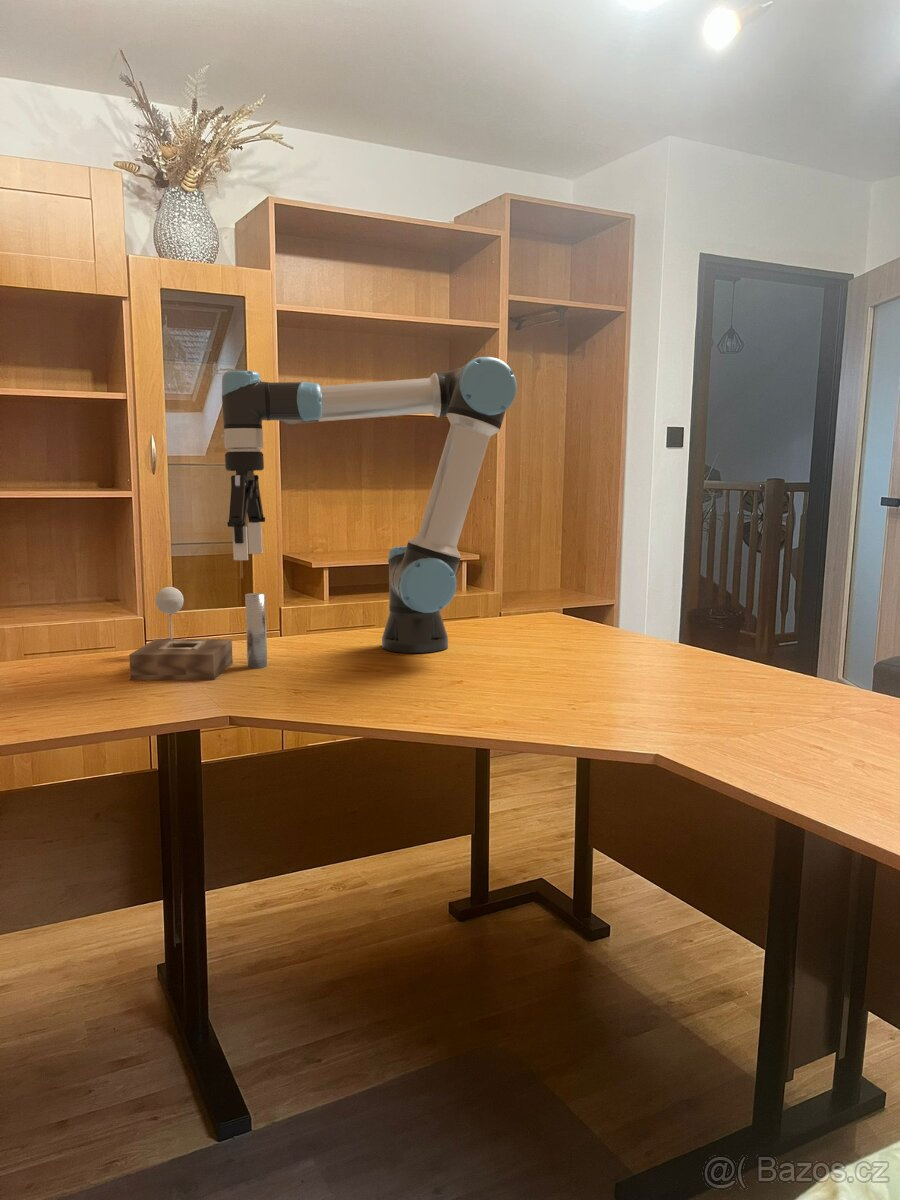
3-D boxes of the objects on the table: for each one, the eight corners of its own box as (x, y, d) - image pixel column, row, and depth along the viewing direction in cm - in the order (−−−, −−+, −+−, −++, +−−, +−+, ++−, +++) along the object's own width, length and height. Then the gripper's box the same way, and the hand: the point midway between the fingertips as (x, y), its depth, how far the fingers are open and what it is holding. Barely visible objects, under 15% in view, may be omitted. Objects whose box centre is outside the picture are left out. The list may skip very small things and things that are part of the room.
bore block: (232, 662, 189) (231, 637, 188) (214, 679, 173) (213, 652, 173) (156, 662, 189) (155, 637, 188) (130, 680, 173) (129, 653, 172)
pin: (269, 664, 187) (266, 593, 185) (265, 668, 183) (263, 595, 181) (249, 664, 187) (247, 593, 185) (245, 668, 183) (243, 595, 181)
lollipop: (180, 657, 194) (177, 588, 192) (153, 657, 194) (150, 588, 192) (189, 652, 200) (186, 585, 198) (163, 652, 200) (160, 585, 198)
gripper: (239, 452, 192) (244, 551, 195) (208, 449, 167) (214, 563, 170) (274, 451, 192) (278, 551, 195) (248, 449, 167) (253, 562, 170)
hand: (248, 557), depth 183 cm, fingers open, 13 cm apart
